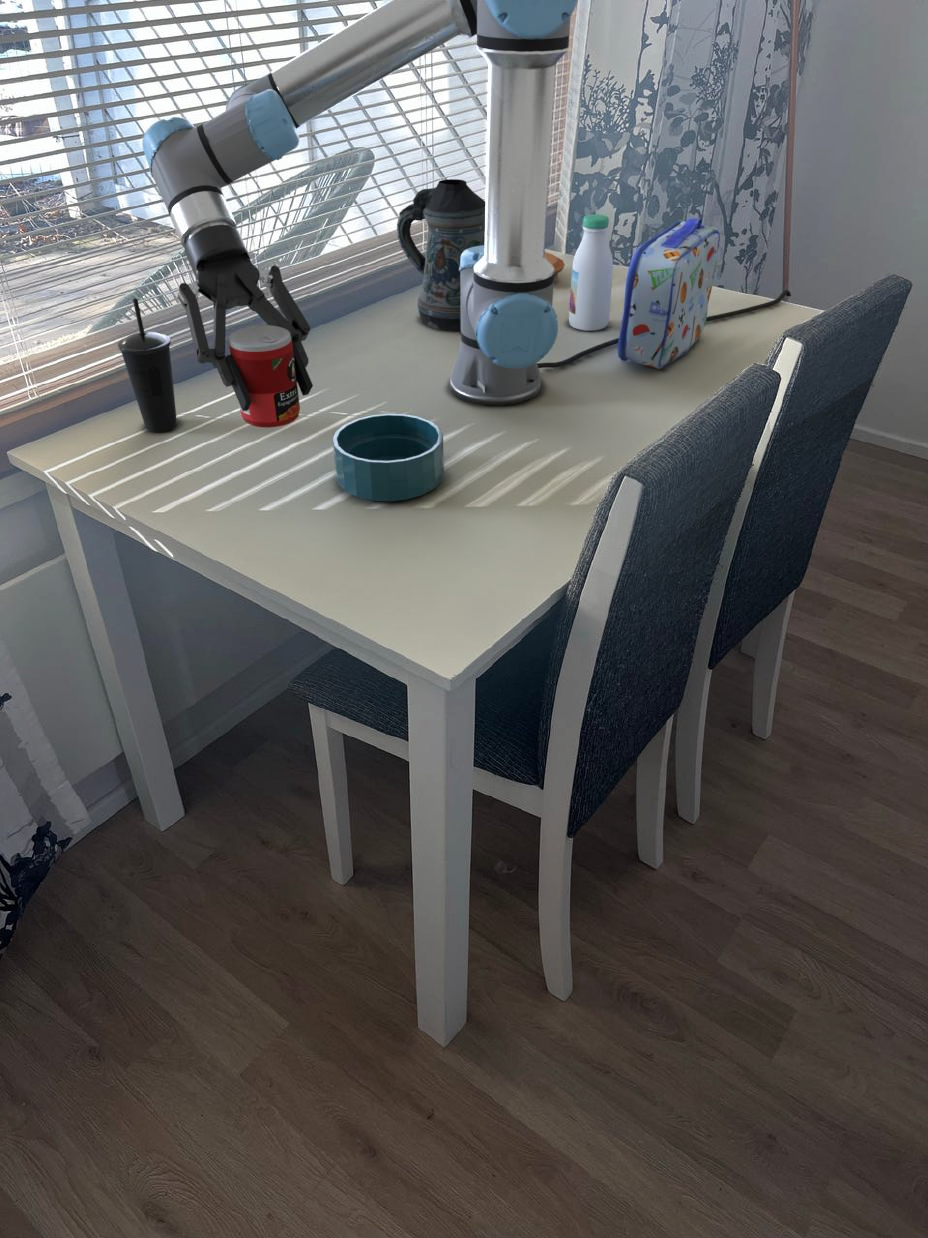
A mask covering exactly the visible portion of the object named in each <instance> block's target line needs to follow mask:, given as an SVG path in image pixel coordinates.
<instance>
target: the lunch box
mask: <svg viewBox="0 0 928 1238" xmlns="http://www.w3.org/2000/svg"><path fill="white" fill-rule="evenodd" d="M702 223H703V218H702V217H699V218H688V219H686V221H676V222H674V223H673V224H672V225H671V226H669V227H668V228H666V229H665V230H663V231H662V232H660V233H657V234H656V235H655V236H653V237H652V238H650V239H648V240H647V241H645V242H644V243H642V244H640V246H639V247H638V248H637V249H636V250H635V252H634V253H633V255H632V257H631V260H630V262H629V263H630V264H629V267H628V271H627V275H626V278H625V279H626V280H625V287H624V288H625V289H624V300H623V301H624V302H623V310H622V317H621V326H620V331H619V336H618V338H619V341H618V343H617V356H618V359H619V360H621V361H622V362H627V361H630V362H632V363H636V364H639V365H642V366H646V367H651V368H654V369H658V370H659V369H663V368H664V367H665V366H667V365H669V364H671V363H673V362H674V361H676V360H677V359H678V358H680V357H682V356H684V355H685V354H687V353H689V350H690V349H691V348H692V347H693V346H694V345H695V344H696V343H697V341H699V339H700V338H701V336H702V334H703V332H704V329H705V326H706V323H707V322H706V318H707V317H708V310H709V302H710V297H711V293H712V291H713V290H712V289H713V284H714V281H715V280H714V279H715V275H716V269H717V264H718V253H719V249H720V248H719V247H720V241H721V235H720V231H719V229H718V228H716V227H712V226H705V225H704V224H703V225H702Z"/></svg>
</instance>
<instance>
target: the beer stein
mask: <svg viewBox="0 0 928 1238" xmlns="http://www.w3.org/2000/svg"><path fill="white" fill-rule="evenodd" d="M485 207H486V200H485V199H483V198H482V197H481V196H479V195H478V194H476V192H475V191H473V190H472V188H470V187H469V185H468V184H467V181H466V180H463V179H458V178H455V179H453V178H450V179H441V180H439V181H438V183H437V185H436V186H435V187H432V188H423V189H421V190H418V192H417V193H416V194H415V196H414V198H413V199H412V203H410V204H409V205H407V206H405V207H404V208H403V209H401V211H400V212H399V214H398V219H397V223H396V235H397V240H398V243H399V245H400V248H401V249H402V251H403V253H404V255H405V256H406V258H407V259H408V261H409V262H410V263H411V264H412V265H413V267H414V268H415V269H416V270H417V271H418V272H419V273H420V274H422V275H423V280H422V285H421V289H420V293H419V296H418V299H417V310H418V313H419V317H420V320H421V323H422V324H424V325H425V326H427V327H428V328H432V329H436V330H438V331H446V332H461V285H460V271H459V267H460V261H461V254H462V253H463V252H464V251H465V250H466V249H468V248H471V247H476V246H483V245H485ZM424 220H425V221H426V223H427V236H426V237H427V238H426V248H425V256H424V255H423V253H422V252H421V251H420V250H419V249H418V247H417V246H416V243H415V242H414V239H413V238H412V235H411V227H412V224H413V222H414V221H416V222H417V221H419V222H421V221H424Z"/></svg>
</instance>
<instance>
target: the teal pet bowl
mask: <svg viewBox="0 0 928 1238" xmlns="http://www.w3.org/2000/svg"><path fill="white" fill-rule="evenodd" d="M332 449H333V457H334V468H335V477H336V481H337V485H338V486H339V487H340V488H341V489H342V490H343V491H344V492H345V493H347V494H350V495H351V496H354V497H356V498H359V499H364V500H368V501H373V502H398V501H404V500H405V501H406V500H410V499H413V498H417V497H420V496H424V495H425V494H427V493H429V492H431V491H432V490H434V489H436V488H437V487H438V486H439V485H440V483H441V482H442V481H443V479H444V474H445V458H444V434H443V432H442V430H441V428H440V427H439V426H438V425H437V424H435V423H434V422H433V421H431V420H428V419H425V418H423V417H421V416H417V415H411V414H405V413H381V414H372V415H367V416H363V417H359V418H356V419H353V420H351V421H350V422H347V423H344V424H343V425H342V426H340V428H338V429H337V430H335V433H334V435H333V437H332Z"/></svg>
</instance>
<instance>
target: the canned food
mask: <svg viewBox="0 0 928 1238" xmlns="http://www.w3.org/2000/svg"><path fill="white" fill-rule="evenodd" d="M228 347H229V353H230V354H229V355H233V358H234V360H235V362H236V364H237V367H238V369H239V372H240V374H241V376H242V379H243V381H244V384H245V386H246V388H247V391H248V393H249V395H250V398H251V400H252V402H251V405H250V407H249V409H248V410H246V411H242V408H241V406H240V404H239V403H238V406H239V412H240V415H241V417H242V419H243V421H244V422H245V423H246V424H247V425H251V426H253V427H256V428H265V429H267V428H278V427H283V426H287V425H290V424H292V423H293V422H294V421H296V420H297V419H298V418H299V416H300V411H301V410H300V409H301V406H300V404H301V403H300V396H299V386H298V383H297V379H296V370H295V362H294V354H293V346H292V339H291V335H290V332H289V331H288V330H286V329H284V328H281V327H277V326H269V325H268V324H266V325H265V324H263V325H250V326H246V327H242V328H239V329H237V330H235V331H233V332H231V333H230V334H229V335H228Z"/></svg>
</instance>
